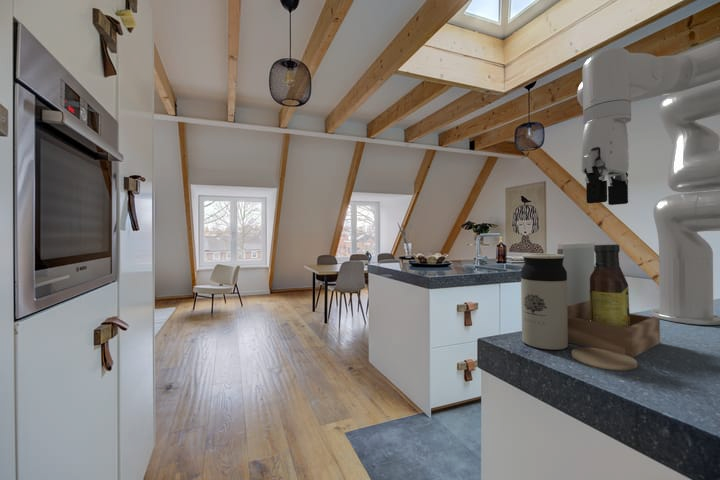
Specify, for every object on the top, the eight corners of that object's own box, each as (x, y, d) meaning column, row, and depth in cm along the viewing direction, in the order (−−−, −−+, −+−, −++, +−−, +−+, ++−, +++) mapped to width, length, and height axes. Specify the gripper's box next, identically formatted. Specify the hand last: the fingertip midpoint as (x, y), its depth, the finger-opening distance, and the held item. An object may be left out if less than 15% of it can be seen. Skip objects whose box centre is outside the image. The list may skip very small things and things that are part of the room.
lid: (591, 328, 74) (590, 242, 73) (596, 329, 73) (595, 242, 73) (557, 340, 66) (556, 244, 66) (563, 342, 65) (561, 244, 65)
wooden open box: (590, 328, 73) (590, 298, 73) (659, 342, 63) (659, 307, 63) (559, 340, 66) (559, 306, 66) (632, 358, 56) (631, 318, 56)
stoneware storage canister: (542, 336, 69) (541, 253, 69) (577, 348, 61) (576, 254, 61) (513, 340, 66) (511, 254, 66) (546, 353, 59) (545, 256, 59)
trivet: (585, 347, 62) (585, 344, 62) (645, 362, 54) (645, 358, 54) (562, 357, 57) (562, 354, 57) (624, 375, 49) (624, 371, 49)
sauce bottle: (638, 349, 60) (637, 244, 60) (600, 348, 61) (599, 244, 61) (617, 338, 66) (616, 243, 66) (584, 337, 68) (582, 244, 67)
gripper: (603, 129, 71) (604, 206, 71) (564, 116, 62) (565, 204, 62) (646, 118, 65) (648, 203, 65) (610, 101, 55) (612, 199, 56)
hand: (607, 203), depth 63 cm, fingers open, 9 cm apart
